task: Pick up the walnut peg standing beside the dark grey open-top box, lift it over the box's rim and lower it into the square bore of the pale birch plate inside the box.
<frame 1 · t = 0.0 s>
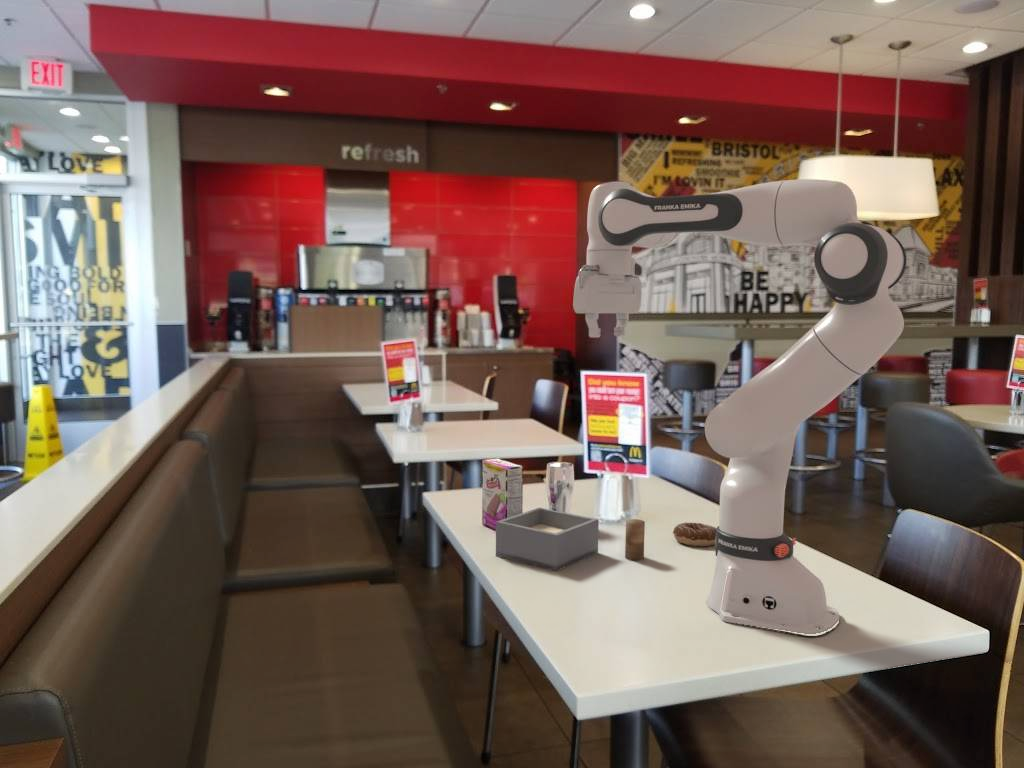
hand: (607, 336, 159), 48 cm above the table, tool pointing down, fingers open, 8 cm apart
donut: (696, 543, 185), on the table
beer glass: (559, 524, 199), on the table
candy bar box: (501, 530, 194), on the table
open-top box: (547, 554, 174), on the table
peg: (634, 557, 172), on the table
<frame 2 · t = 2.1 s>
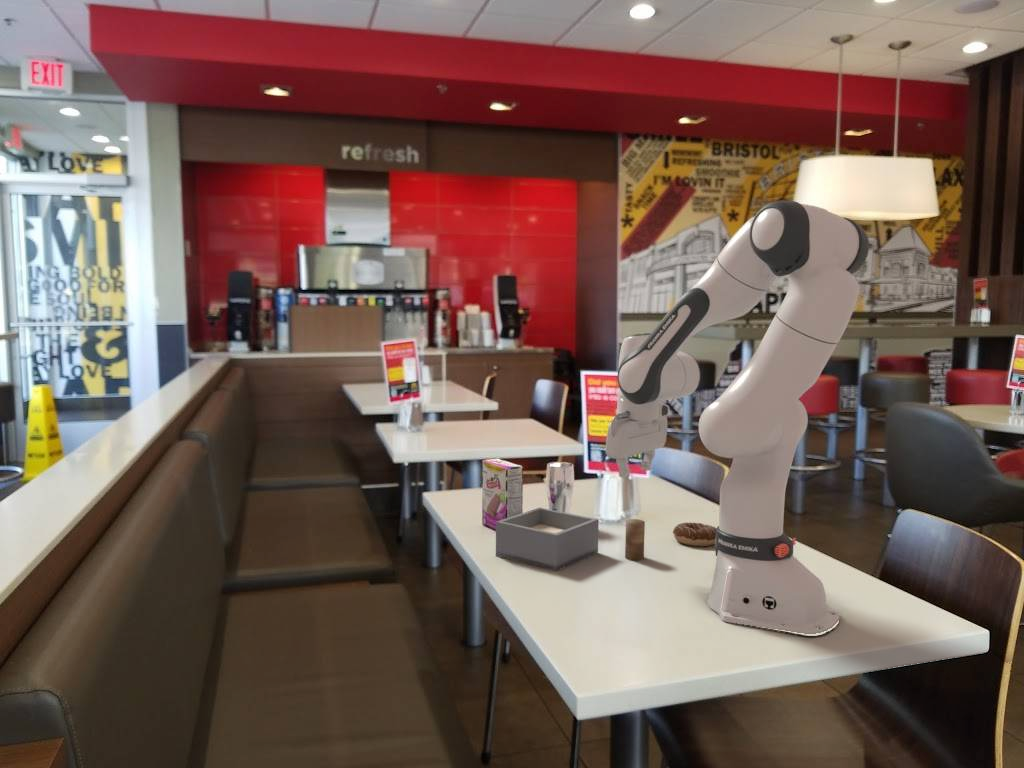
hand: (635, 473, 171), 18 cm above the table, tool pointing down, fingers open, 8 cm apart
nothing on the table moved.
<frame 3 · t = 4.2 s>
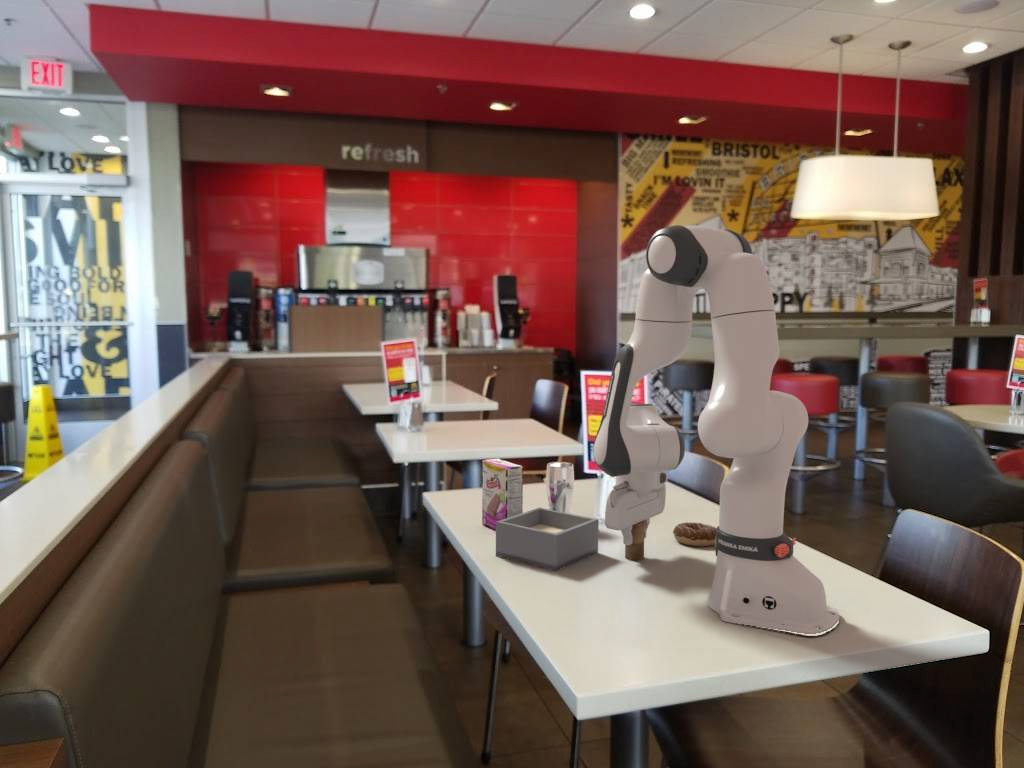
hand: (634, 541, 172), 4 cm above the table, tool pointing down, fingers closed on peg, 4 cm apart
peg: (634, 557, 172), on the table, touching gripper
everything else where it was.
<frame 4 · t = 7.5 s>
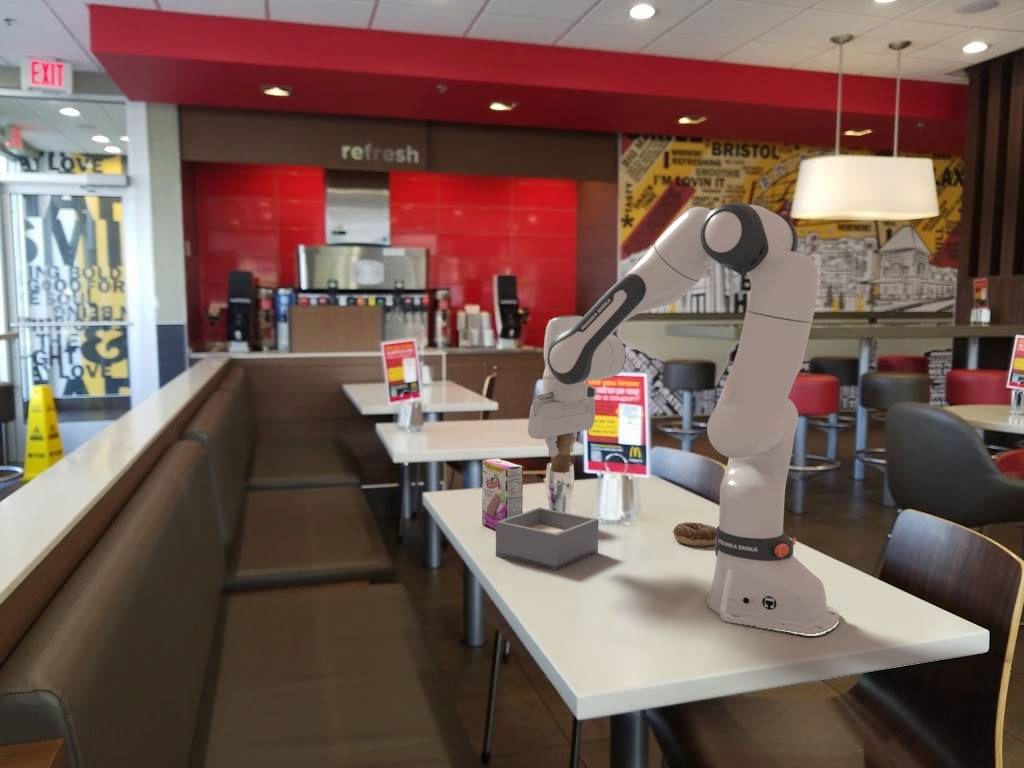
hand: (560, 454, 172), 22 cm above the table, tool pointing down, fingers closed on peg, 4 cm apart
peg: (560, 470, 173), point 18 cm above the table, touching gripper
everything else where it was.
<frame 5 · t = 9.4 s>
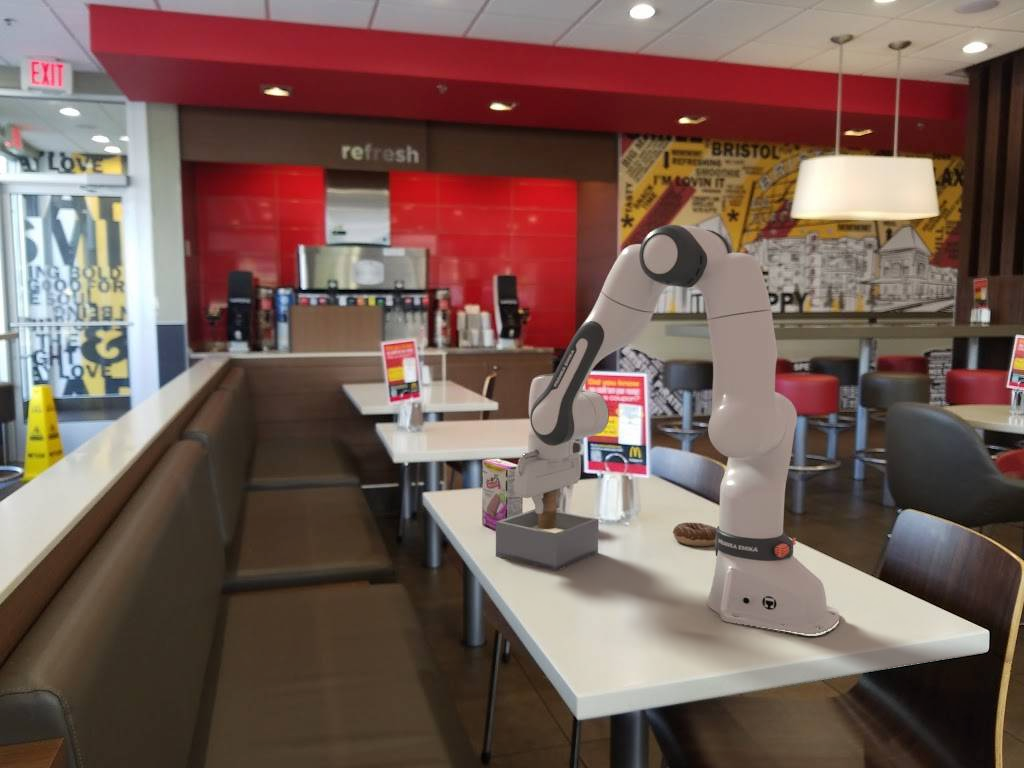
hand: (547, 510, 174), 10 cm above the table, tool pointing down, fingers closed on peg, 4 cm apart
peg: (546, 526, 174), point 6 cm above the table, touching gripper
everything else where it was.
when the fingers open (6 cm above the table, at t = 10.8 s): peg drops 1 cm, resting on open-top box.
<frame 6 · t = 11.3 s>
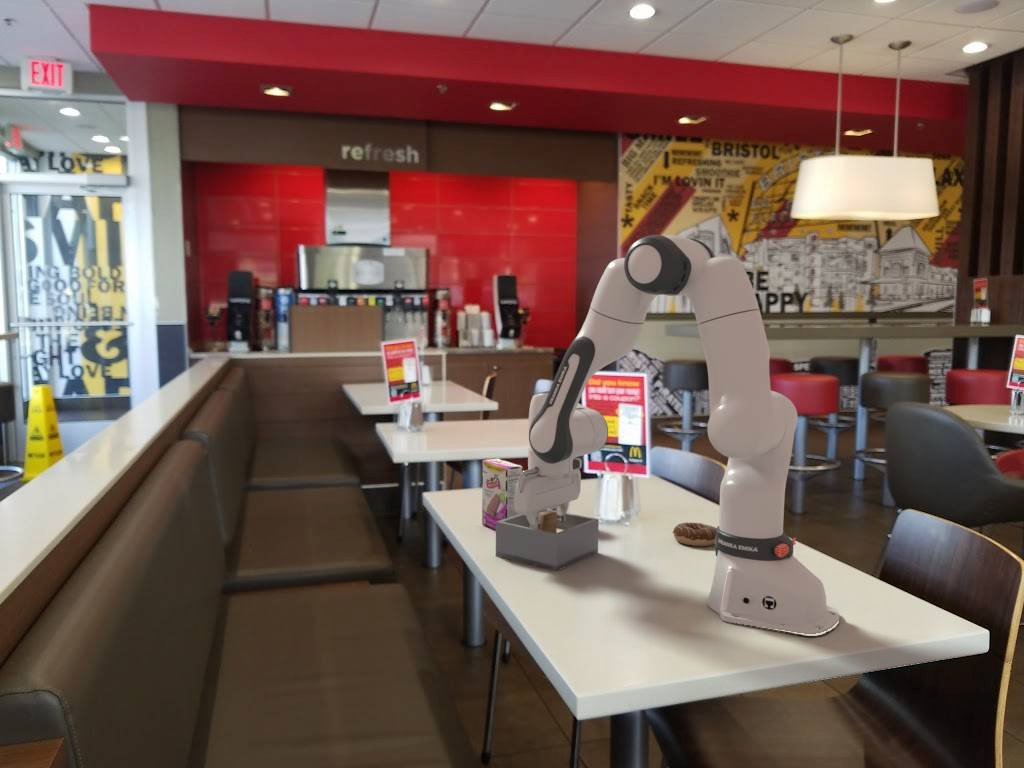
hand: (547, 526, 174), 6 cm above the table, tool pointing down, fingers open, 8 cm apart
peg: (547, 549, 174), point 1 cm above the table, touching open-top box
everything else where it was.
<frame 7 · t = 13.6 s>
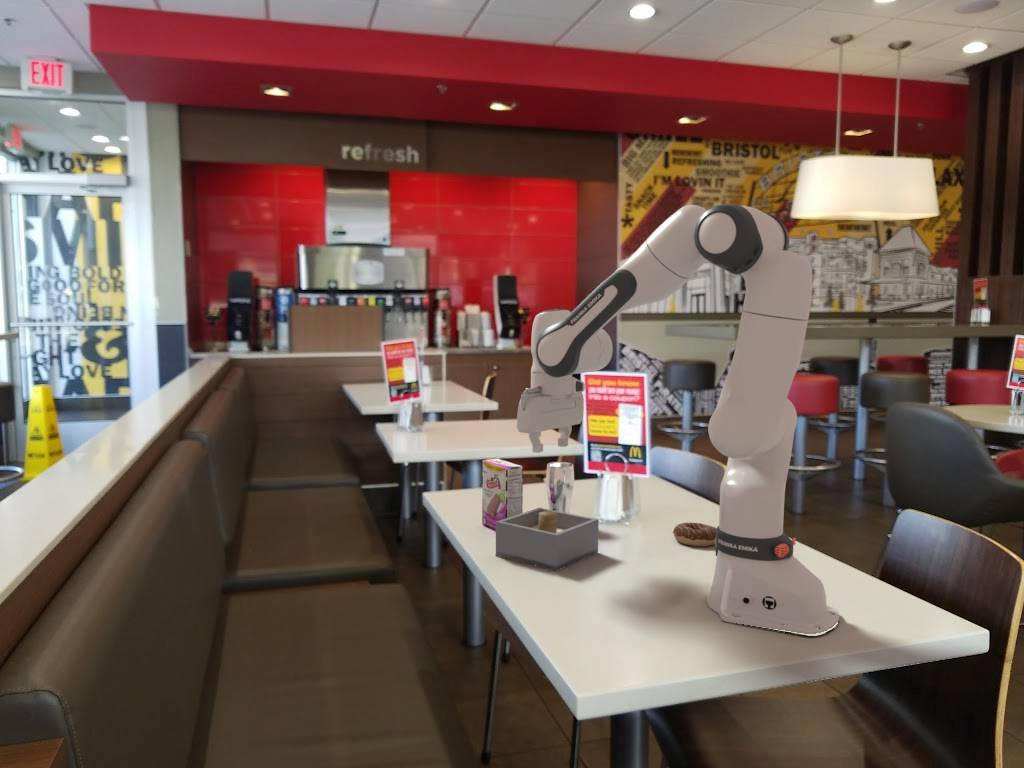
hand: (550, 449, 172), 23 cm above the table, tool pointing down, fingers open, 8 cm apart
nothing on the table moved.
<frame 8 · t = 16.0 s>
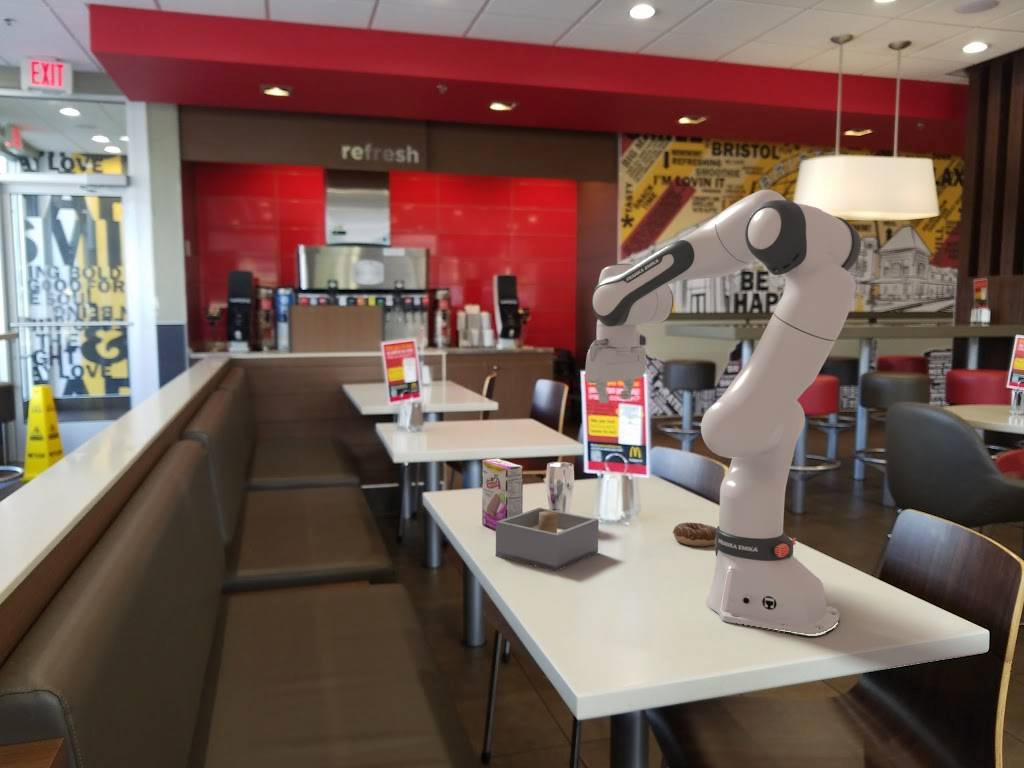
hand: (615, 401, 177), 33 cm above the table, tool pointing down, fingers open, 8 cm apart
nothing on the table moved.
at the end: peg 0.1 cm off-centre on the open-top box, point 1.1 cm above the open-top box's base; peg tilted 2°; the gripper is holding nothing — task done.
